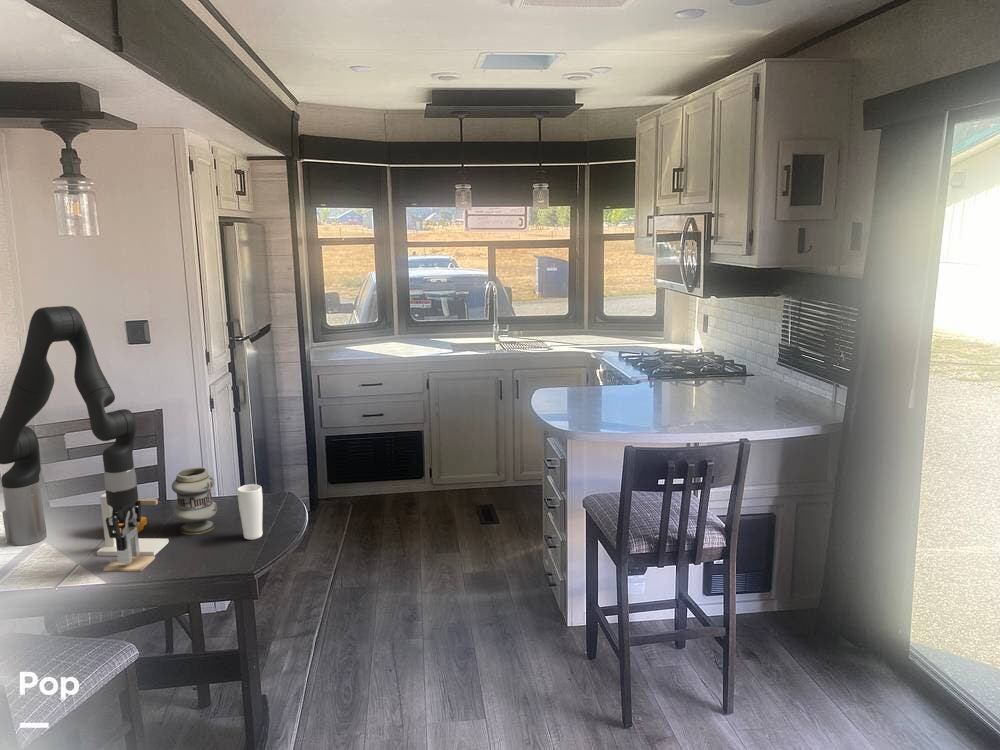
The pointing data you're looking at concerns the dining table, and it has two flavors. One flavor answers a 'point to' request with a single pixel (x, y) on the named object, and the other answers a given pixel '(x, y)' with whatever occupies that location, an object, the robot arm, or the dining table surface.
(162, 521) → the dining table surface
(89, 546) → the dining table surface
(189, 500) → the apothecary jar
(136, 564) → the cork mat
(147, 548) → the stand
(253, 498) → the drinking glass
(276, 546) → the dining table surface
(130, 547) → the c link
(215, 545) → the dining table surface
